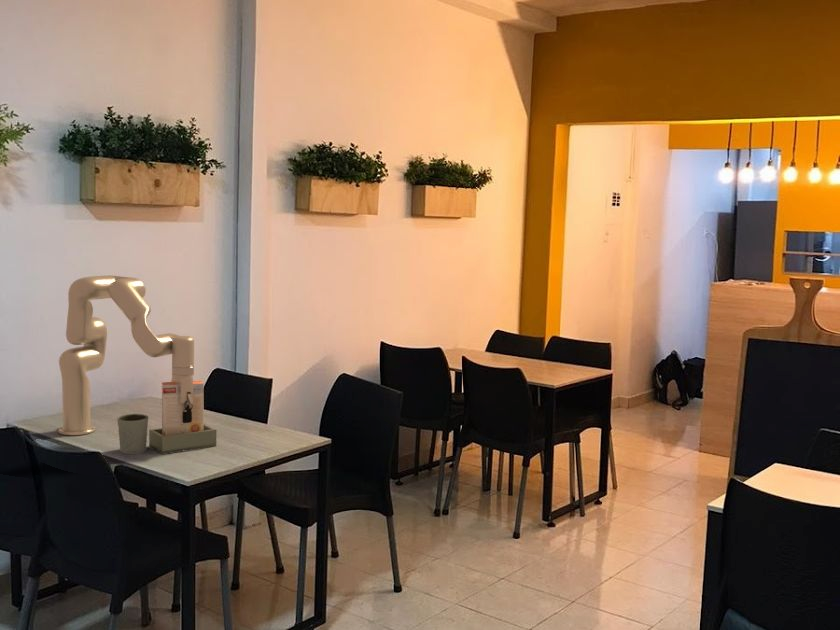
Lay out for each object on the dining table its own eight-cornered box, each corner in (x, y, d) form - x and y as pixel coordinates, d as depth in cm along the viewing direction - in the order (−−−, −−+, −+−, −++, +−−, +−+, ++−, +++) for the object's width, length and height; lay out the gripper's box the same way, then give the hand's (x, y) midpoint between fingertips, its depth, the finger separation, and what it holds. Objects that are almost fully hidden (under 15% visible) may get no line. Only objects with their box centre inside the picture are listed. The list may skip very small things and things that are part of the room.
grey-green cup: (150, 446, 300) (150, 413, 299) (145, 454, 290) (145, 420, 289) (120, 446, 298) (120, 413, 297) (114, 454, 289) (114, 420, 287)
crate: (149, 446, 301) (149, 429, 300) (202, 438, 313) (202, 422, 312) (162, 454, 291) (162, 437, 291) (216, 445, 304) (216, 429, 303)
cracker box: (201, 436, 307) (202, 380, 305) (203, 440, 302) (204, 383, 299) (161, 438, 302) (161, 381, 300) (162, 443, 297) (163, 384, 294)
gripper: (163, 367, 303) (162, 416, 305) (182, 376, 290) (182, 426, 292) (183, 366, 308) (182, 413, 310) (203, 374, 295) (202, 424, 297)
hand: (182, 419), depth 301 cm, fingers closed on cracker box, 7 cm apart
